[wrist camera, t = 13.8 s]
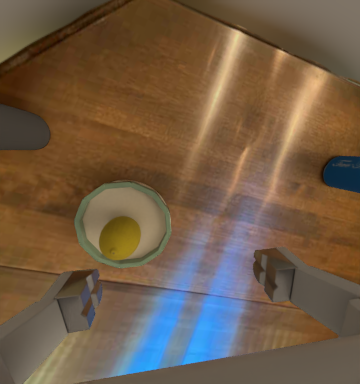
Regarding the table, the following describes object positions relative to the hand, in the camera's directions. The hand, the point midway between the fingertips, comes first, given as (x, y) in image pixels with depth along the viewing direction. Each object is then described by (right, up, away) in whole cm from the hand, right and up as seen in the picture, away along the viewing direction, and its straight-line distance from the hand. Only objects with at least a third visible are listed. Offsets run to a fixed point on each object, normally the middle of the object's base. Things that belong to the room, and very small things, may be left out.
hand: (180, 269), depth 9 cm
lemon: (-9, -1, +19) cm, 21 cm away
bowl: (-10, 0, +24) cm, 26 cm away
